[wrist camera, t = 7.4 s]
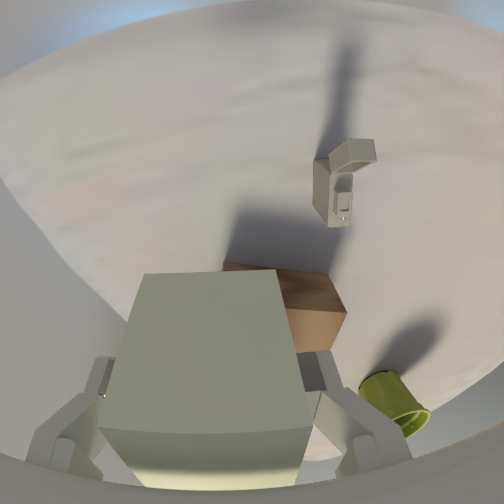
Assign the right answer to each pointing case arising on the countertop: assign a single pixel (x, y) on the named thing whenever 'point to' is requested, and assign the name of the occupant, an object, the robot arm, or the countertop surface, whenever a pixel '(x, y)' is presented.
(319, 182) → the lighter
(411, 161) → the countertop surface
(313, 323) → the walnut block
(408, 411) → the plant pot
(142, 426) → the sage block
